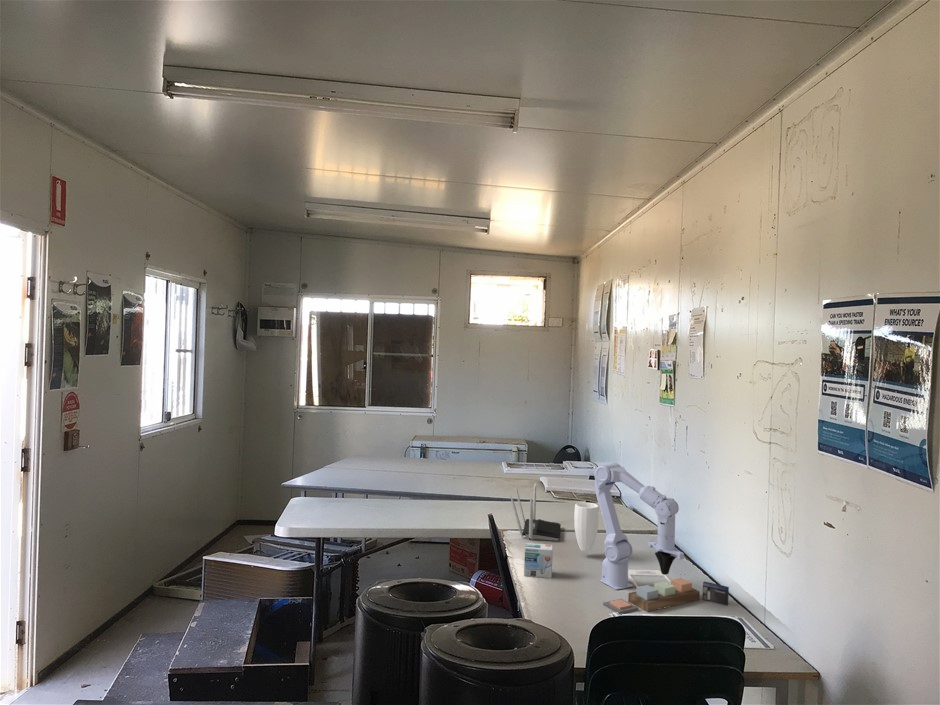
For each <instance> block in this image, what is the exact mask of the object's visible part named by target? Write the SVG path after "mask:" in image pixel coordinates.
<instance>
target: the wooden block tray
mask: <svg viewBox="0 0 940 705" xmlns="http://www.w3.org/2000/svg"><path fill="white" fill-rule="evenodd" d="M636 593H637V590H636V591H632V592H628V601H627V602H628V603H630V604H632V605H634V606H636V607H638V609H641V610H643V611H645V612H647V613H649V612H653V610H654V611H657V610H656V609H658V608H662V609H665V608H664V607H667V608H669V607H668V606H671V607H674V606H673V605H675V606H679V605H678V604H680V605H683V603H684V604H687V602H688V603H691V602H697V601H700V599H701V598H700V596H701V595H700V594H701V592H700V590H697V589H696V588H694V587H692V590H691V591H687V592H682V593H681V592H679V591H677V590H675V594H673V595H669V596H663V595H661V594H659V593H658V598H655V599H651V600H645V599H643V598H642V597H640V596H638V595H636ZM658 610H659V609H658Z"/></svg>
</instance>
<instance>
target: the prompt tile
mask: <svg viewBox="0 0 940 705" xmlns="http://www.w3.org/2000/svg"><path fill="white" fill-rule="evenodd" d="M602 605H603V606H604V607H606V608H608V609H609V610H611V611H612V612H615V613H616V612H618V613H617V614H618V615H623V614H626V613H630V612H635V611H638V610H639V607H637V606H635V605H633V604H631V603H630V602H628V601H626V600H625V599H623V598H618V599H614V600H608V601H604V602H603V603H602Z"/></svg>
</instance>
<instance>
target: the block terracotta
mask: <svg viewBox="0 0 940 705" xmlns="http://www.w3.org/2000/svg"><path fill="white" fill-rule="evenodd" d="M670 580H671V585H673V586H675V590H677V591H679V592H681V593H682V592H687V591H691V590H692V588H693V582H691V581H688V580H686V579H684V578H682V577H679V578H674V579H670Z"/></svg>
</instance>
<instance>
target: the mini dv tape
mask: <svg viewBox="0 0 940 705" xmlns="http://www.w3.org/2000/svg"><path fill="white" fill-rule="evenodd" d="M729 588H730V587H729V586H726V585H721V584H717V583H713V582H710V581H703V582H702V596H701V597H702V600H703V601H706V602H711V603H715V604H719V605H723V606H728V605H729V595H730V594H729V592H730V589H729Z"/></svg>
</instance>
